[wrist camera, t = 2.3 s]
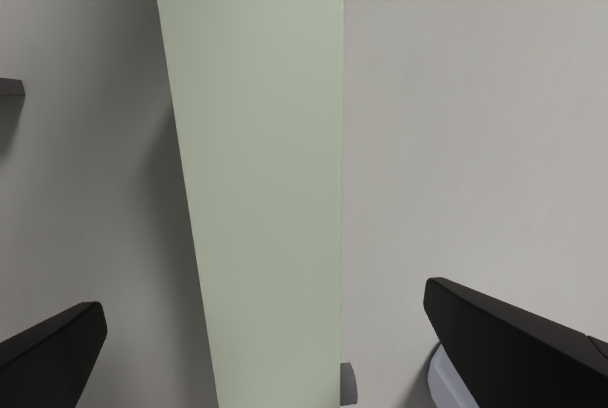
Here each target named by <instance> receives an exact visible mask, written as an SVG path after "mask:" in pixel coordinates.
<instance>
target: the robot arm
mask: <svg viewBox="0 0 608 408" xmlns="http://www.w3.org/2000/svg"><path fill="white" fill-rule="evenodd" d="M423 305H424V309H425V312H426V314H427V316H428V318H429V320H430V322H431V324H432V326H433V328H434V330H435V332H436V334H437V336H438V338H439V340H440V342H441V344H442V346H443V348H444V350H445V352H446V354H447V356H448V358H449V359H450V361H451V363H452V364H453V366H454V368H455V369H456V371H457V373H458V374H459V376H460V377H461V379H462V381H463V382H464V384H465V385H466V387H467V389H468V390H469V392H470V394H471V395H472V397H473V398H474V400H475V402H476V403H477V405H478V406H479V408H608V343H606V342H604V341H601V340H599V339H596V338H594V337H591V336H586V335H585V334H584V333H581V332H579V331H576V330H574V329H571V328H569V327H566V326H564V325H561V324H559V323H556V322H554V321H551V320H548V319H546V318H543V317H541V316H538V315H536V314H533V313H531V312H528V311H526V310H523V309H521V308H518V307H516V306H513V305H511V304H508V303H506V302H503V301H501V300H498V299H496V298H493V297H491V296H488V295H486V294H483V293H481V292H478V291H476V290H473V289H471V288H468V287H465V286H463V285H460V284H458V283H455V282H453V281H450V280H448V279H445V278H443V277H435V278H429V279H428V280H427V281H426V286H425V293H424V300H423ZM106 336H107V324H106V320H105V316H104V311H103V307H102V305H101V303H100V302H98V301H93V302H82V303H79V304H77V305H75V306H73V307H71V308H69V309H67V310H65V311H63V312H61V313H59V314H57V315H55V316H53V317H51V318H49V319H47V320H45V321H43V322H41V323H39V324H37V325H35V326H33V327H31V328H29V329H27V330H25V331H23V332H21V333H19V334H17V335H15V336H13V337H11V338H9V339H7V340H5V341H3V342H1V343H0V408H75V406H76V404H77V402H78V400H79V398H80V396H81V394H82V392H83V390H84V388H85V386H86V383H87V381H88V379H89V376H90V374H91V371H92V369H93V367H94V364H95V362H96V360H97V357H98V355H99V353H100V350H101V348H102V346H103V343H104V341H105V339H106Z"/></svg>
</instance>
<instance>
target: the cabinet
mask: <svg viewBox="0 0 608 408" xmlns="http://www.w3.org/2000/svg"><path fill="white" fill-rule="evenodd" d="M0 95H25V93H24V89H23V85H22V81H21V80H15V79H7V78H0Z"/></svg>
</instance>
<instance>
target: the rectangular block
mask: <svg viewBox="0 0 608 408" xmlns="http://www.w3.org/2000/svg"><path fill="white" fill-rule="evenodd" d="M157 3H158V10H159V16H160V23H161V29H162V36H163V43H164V49H165V56H166V62H167V69H168V76H169V82H170V89H171V95H172V102H173V109H174V115H175V122H176V128H177V135H178V142H179V148H180V155H181V161H182V168H183V175H184V181H185V188H186V194H187V201H188V207H189V214H190V221H191V227H192V234H193V240H194V247H195V254H196V260H197V267H198V273H199V280H200V287H201V293H202V300H203V306H204V313H205V320H206V326H207V333H208V339H209V346H210V352H211V359H212V366H213V372H214V379H215V385H216V392H217V399H218V405H219V408H340V406H344V405H351V404H357V399H358V395H357V385H356V380H355V375H354V371H353V368H352V366H351V364H350V363H349V362H348V363H340V342H341V242H342V142H343V42H344V0H157Z"/></svg>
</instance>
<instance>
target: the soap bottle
mask: <svg viewBox="0 0 608 408" xmlns="http://www.w3.org/2000/svg"><path fill="white" fill-rule="evenodd" d="M427 379H428V384H429V388H430V392H431V397H432V399H433V401H434V402H435V404H436V406H437V407H438V408H479V406H478V405H477V403H476V402H475V400H474V398H473V397H472V395H471V394H470V392H469V390H468V389H467V387H466V385H465V384H464V382H463V381H462V379H461V377H460V376H459V374H458V373H457V371H456V369H455V368H454V366H453V364H452V363H451V361H450V359H449V358H448V356H447V354H446V352H445V350H444V348H443V346H442V344H441V345H440V346H439V348H438V349H437V351H436V353H435V354H434V356H433V358H432V359H431V363H430V368H429V372H428V377H427Z"/></svg>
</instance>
